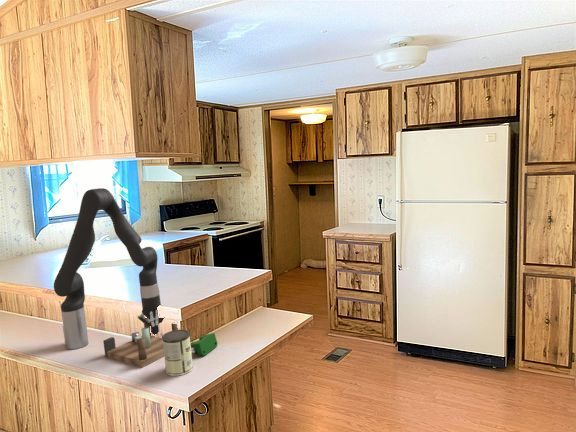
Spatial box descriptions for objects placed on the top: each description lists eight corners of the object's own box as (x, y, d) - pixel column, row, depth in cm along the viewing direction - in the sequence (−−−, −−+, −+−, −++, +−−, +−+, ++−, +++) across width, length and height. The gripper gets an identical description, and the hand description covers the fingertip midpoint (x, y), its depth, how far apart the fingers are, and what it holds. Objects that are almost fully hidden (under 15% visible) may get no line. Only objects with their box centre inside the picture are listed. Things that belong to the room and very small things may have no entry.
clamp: (206, 356, 191) (205, 335, 194) (218, 355, 189) (216, 333, 192) (188, 357, 181) (187, 334, 184) (199, 355, 179) (198, 332, 182)
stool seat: (105, 356, 188) (102, 332, 186) (147, 337, 206) (144, 315, 205) (142, 367, 175) (140, 341, 173) (184, 346, 193) (181, 322, 192)
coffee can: (169, 364, 176) (165, 330, 174) (195, 362, 176) (192, 328, 174) (162, 377, 165) (158, 341, 164) (190, 375, 166) (187, 338, 164)
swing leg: (130, 340, 196) (128, 322, 195) (137, 338, 198) (135, 320, 197) (145, 348, 186) (143, 330, 185) (152, 346, 188) (150, 328, 187)
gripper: (161, 289, 195) (166, 327, 197) (131, 296, 187) (137, 336, 189) (168, 292, 189) (173, 331, 191) (137, 300, 181) (143, 341, 183)
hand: (155, 333), depth 190 cm, fingers closed
